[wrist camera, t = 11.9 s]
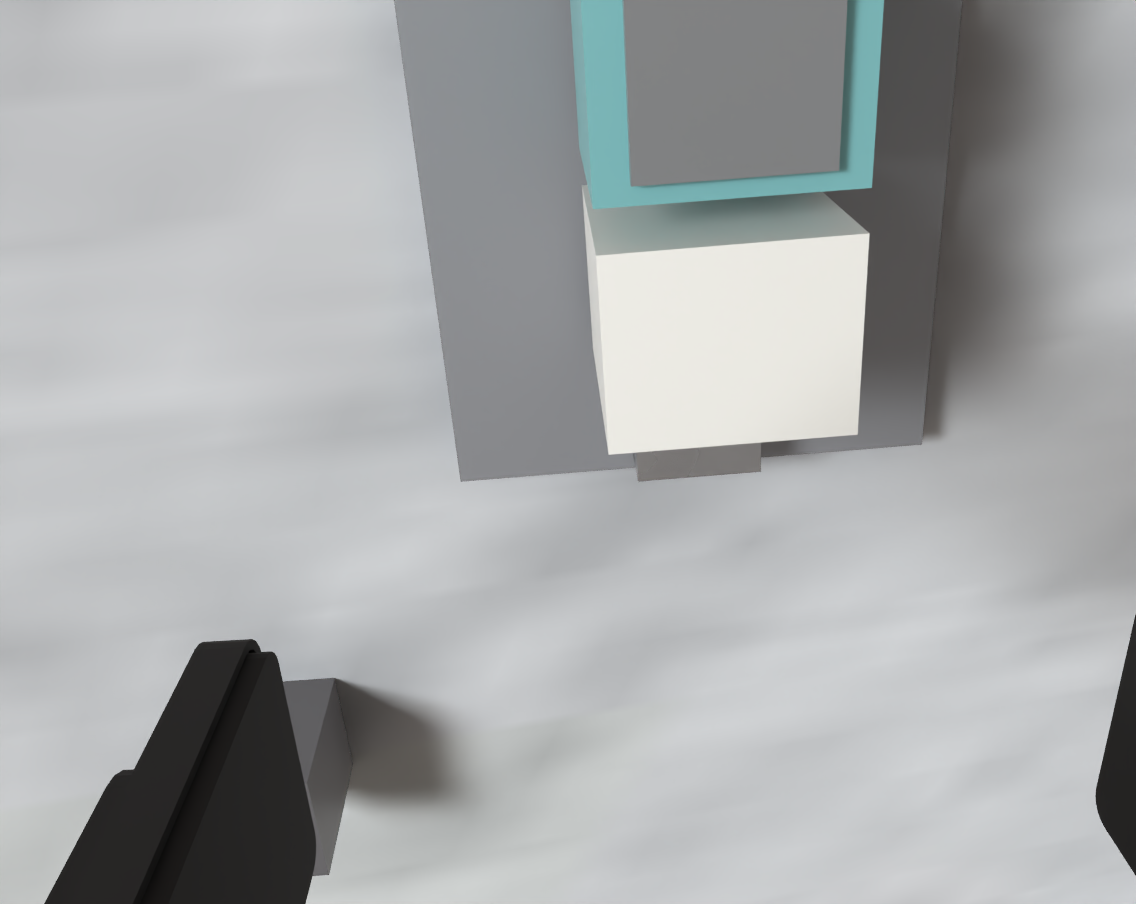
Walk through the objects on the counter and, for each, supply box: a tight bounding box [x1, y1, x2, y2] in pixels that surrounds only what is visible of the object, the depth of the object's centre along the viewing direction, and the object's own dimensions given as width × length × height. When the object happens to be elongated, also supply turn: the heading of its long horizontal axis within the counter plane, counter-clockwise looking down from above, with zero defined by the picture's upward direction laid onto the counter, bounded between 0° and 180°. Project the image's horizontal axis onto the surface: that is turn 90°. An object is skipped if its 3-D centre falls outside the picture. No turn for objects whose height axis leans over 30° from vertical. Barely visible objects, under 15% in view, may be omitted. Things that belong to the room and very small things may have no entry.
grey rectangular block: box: [283, 678, 353, 876], centre depth 34 cm, size 3×4×5 cm
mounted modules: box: [582, 185, 870, 455], centre depth 22 cm, size 6×18×6 cm, turn 4°
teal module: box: [570, 0, 884, 209], centre depth 22 cm, size 6×4×7 cm
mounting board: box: [394, 0, 962, 481], centre depth 26 cm, size 14×24×1 cm, turn 4°
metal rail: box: [633, 443, 761, 481], centre depth 25 cm, size 4×23×2 cm, turn 4°
